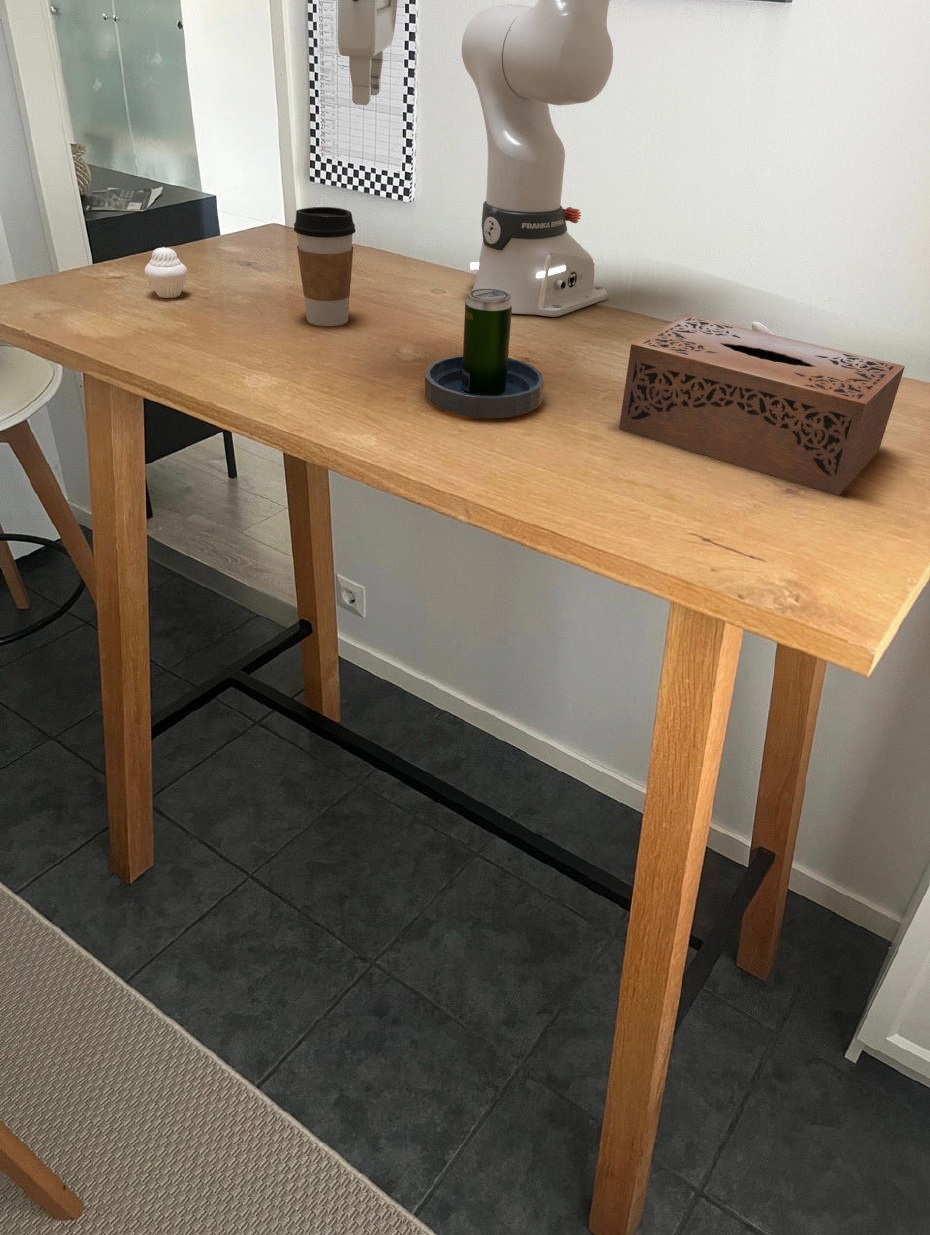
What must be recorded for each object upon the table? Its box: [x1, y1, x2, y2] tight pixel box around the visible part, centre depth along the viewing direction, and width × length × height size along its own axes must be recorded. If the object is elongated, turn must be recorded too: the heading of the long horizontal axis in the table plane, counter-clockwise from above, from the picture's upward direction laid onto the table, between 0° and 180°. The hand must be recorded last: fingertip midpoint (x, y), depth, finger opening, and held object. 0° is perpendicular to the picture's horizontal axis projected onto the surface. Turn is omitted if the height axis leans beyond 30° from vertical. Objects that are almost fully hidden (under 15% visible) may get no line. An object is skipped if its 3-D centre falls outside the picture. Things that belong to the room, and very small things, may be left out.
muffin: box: [144, 246, 188, 299], centre depth 146 cm, size 6×6×7 cm
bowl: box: [424, 354, 545, 420], centre depth 119 cm, size 14×14×3 cm
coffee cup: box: [293, 206, 356, 327], centre depth 137 cm, size 8×8×15 cm
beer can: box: [461, 289, 513, 396], centre depth 116 cm, size 5×5×12 cm
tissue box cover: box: [618, 314, 906, 497], centre depth 110 cm, size 26×14×10 cm, turn 55°
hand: (366, 99), depth 108 cm, fingers open, 8 cm apart
